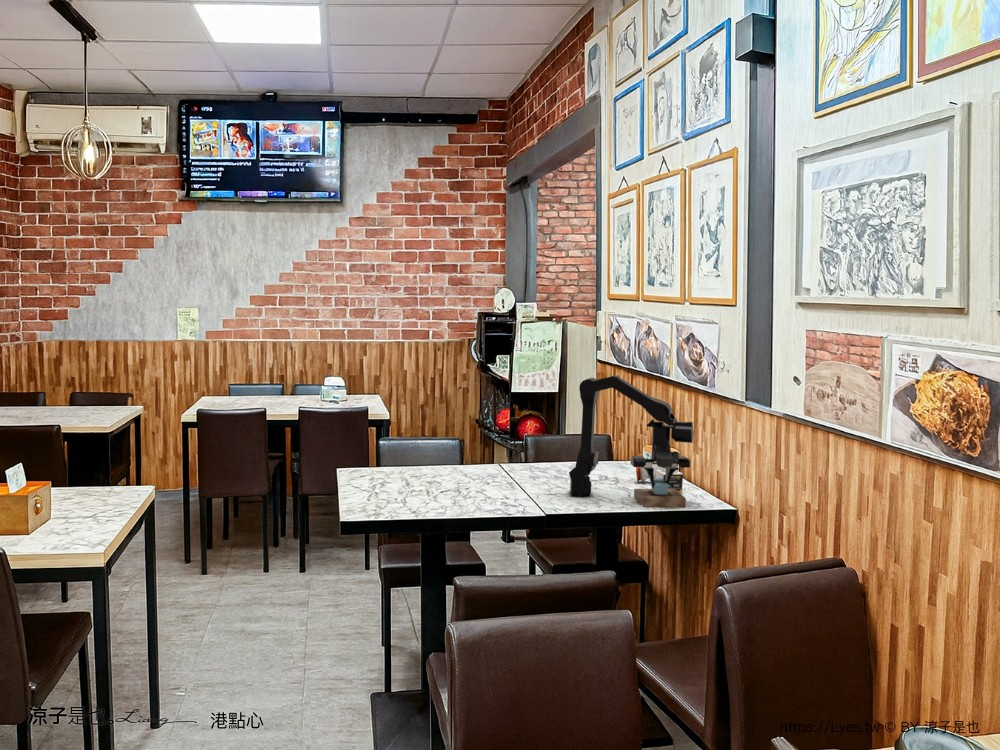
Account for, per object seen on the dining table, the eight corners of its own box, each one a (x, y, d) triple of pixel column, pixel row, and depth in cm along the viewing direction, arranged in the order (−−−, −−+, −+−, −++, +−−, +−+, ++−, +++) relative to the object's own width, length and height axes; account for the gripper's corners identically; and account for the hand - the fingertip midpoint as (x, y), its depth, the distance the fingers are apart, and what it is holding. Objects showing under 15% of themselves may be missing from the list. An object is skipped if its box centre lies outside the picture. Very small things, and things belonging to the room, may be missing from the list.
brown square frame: (642, 506, 294) (642, 498, 294) (633, 497, 308) (634, 488, 308) (685, 507, 295) (685, 498, 295) (675, 497, 309) (675, 489, 309)
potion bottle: (680, 488, 330) (638, 491, 332) (676, 468, 337) (635, 472, 339) (679, 470, 324) (637, 474, 326) (676, 451, 331) (634, 454, 333)
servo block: (656, 495, 296) (657, 484, 295) (649, 488, 307) (650, 477, 306) (669, 495, 296) (669, 484, 296) (661, 488, 307) (661, 478, 307)
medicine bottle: (662, 494, 314) (664, 459, 313) (655, 489, 321) (656, 456, 320) (682, 493, 315) (683, 459, 314) (674, 489, 322) (675, 455, 321)
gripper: (637, 444, 291) (636, 492, 293) (695, 445, 292) (693, 493, 294) (631, 438, 302) (629, 485, 304) (686, 439, 303) (685, 485, 305)
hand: (659, 487), depth 301 cm, fingers closed on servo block, 4 cm apart
